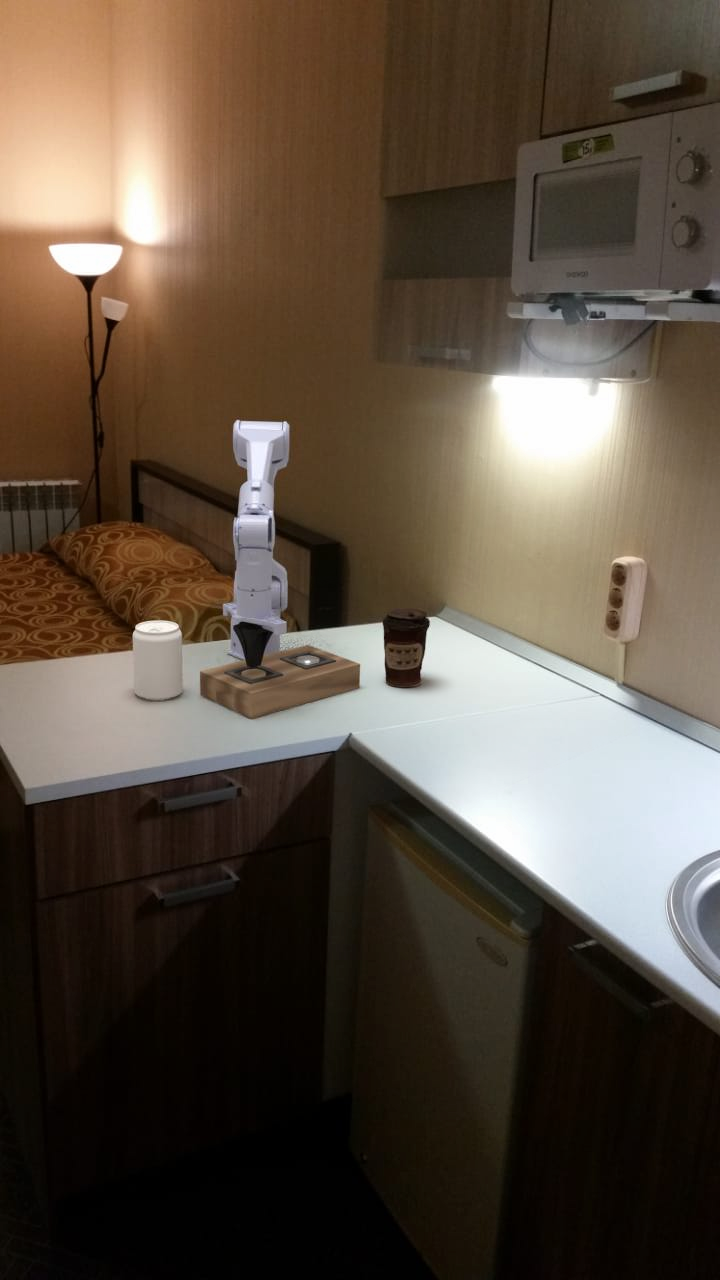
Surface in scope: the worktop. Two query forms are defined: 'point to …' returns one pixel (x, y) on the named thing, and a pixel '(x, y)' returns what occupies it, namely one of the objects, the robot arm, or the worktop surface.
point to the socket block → (279, 681)
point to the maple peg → (253, 673)
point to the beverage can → (157, 660)
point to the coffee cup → (404, 646)
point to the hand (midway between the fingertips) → (253, 665)
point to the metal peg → (307, 660)
